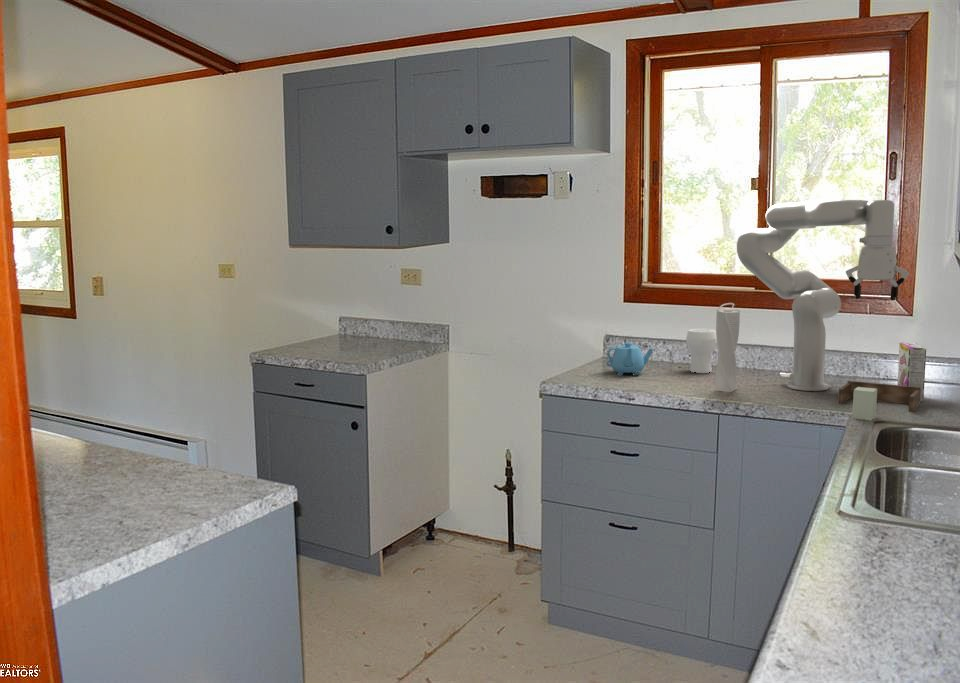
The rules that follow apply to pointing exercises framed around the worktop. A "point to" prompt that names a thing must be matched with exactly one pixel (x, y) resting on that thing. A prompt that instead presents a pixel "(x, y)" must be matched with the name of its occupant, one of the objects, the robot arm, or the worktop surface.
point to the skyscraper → (727, 348)
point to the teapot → (628, 359)
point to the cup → (701, 349)
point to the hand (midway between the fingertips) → (875, 299)
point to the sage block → (864, 403)
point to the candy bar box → (912, 366)
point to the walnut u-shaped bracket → (884, 393)
